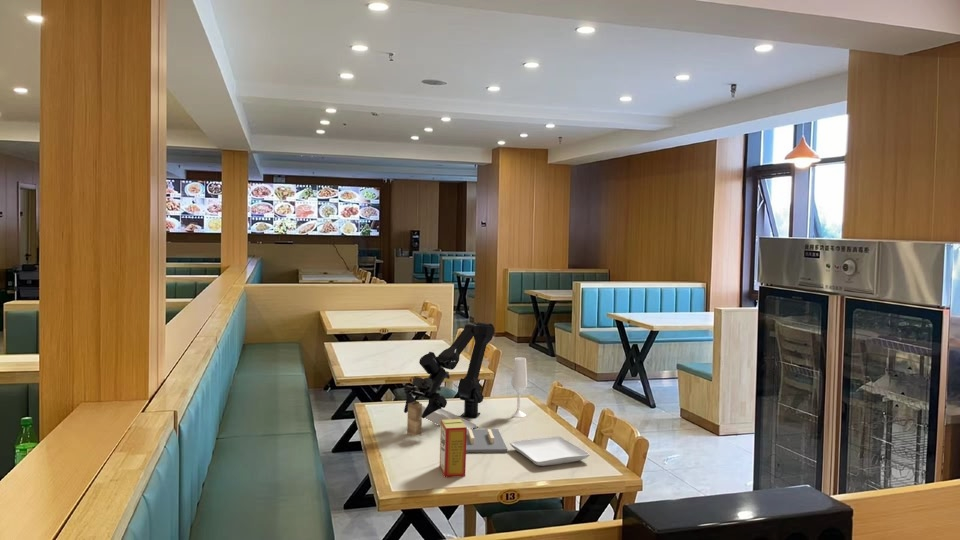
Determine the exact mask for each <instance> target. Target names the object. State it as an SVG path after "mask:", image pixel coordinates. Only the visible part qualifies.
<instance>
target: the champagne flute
mask: <svg viewBox="0 0 960 540" xmlns="http://www.w3.org/2000/svg"><path fill="white" fill-rule="evenodd" d="M512 368H513V370H512V377H511V387H512V389H514V391H515V392H517V398H516V400H517V403H516V404H517V405H516V410H515V411H513V412H511V413H510V414H509V415H510V416H511V417H514V418H524V417H526V416H527V413H526V414H525V413H524V412H523V411H521V393H523V392H524V391H525V389H526V388H527V387H528V373H527V372H528V371H527V358H526V357H521V356H520V357H515V358H514V361H513V367H512Z"/></svg>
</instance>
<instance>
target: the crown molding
mask: <svg viewBox="0 0 960 540" xmlns="http://www.w3.org/2000/svg"><path fill="white" fill-rule="evenodd" d="M426 407H427V405H426V406H425V405H423V404H422V414H423V412H424V410H425V409H426ZM425 418H426V419H428V420H430V421H432V422H434V423H436V424H438V425H440V426H441V419H461V420H462V421H463V423H464V424H465V426H466V427H468V428H470V429H472V428H474V429H476V428H477V427H478V425H477V424H475V423H473V422H471V421H469V420H467V419H466V418H463V417H462V416H459V415H457V414H454V413H452V412H450V411H448V410H446V409H444V408H442V407H441V409H438V410H436V411H434V412H433V413H431V414H429V415H428V416H426V417H425ZM426 419H425V420H426ZM428 420H427V421H428ZM430 421H429V422H430ZM432 422H431V423H432ZM434 423H433V424H434ZM436 424H435V425H436ZM438 425H437V426H438ZM440 426H439V427H440ZM477 429H478V428H477Z"/></svg>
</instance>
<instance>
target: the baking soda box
mask: <svg viewBox="0 0 960 540" xmlns="http://www.w3.org/2000/svg"><path fill="white" fill-rule="evenodd" d="M466 437H467V427H466V426H465V424H464V423H463V421H462V420H461V419H441V427H440V438H439V439H440V440H439V441H440V443H439V446H440V447H439V468H440V470H441V472H442V475H443V474H444V475H443V477H444V476H445V477H444V478H453V477H452V476H461V477H466V462H467V453H466Z"/></svg>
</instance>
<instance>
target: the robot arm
mask: <svg viewBox="0 0 960 540" xmlns="http://www.w3.org/2000/svg"><path fill="white" fill-rule="evenodd" d="M494 334H495V327H494V324H493V323H489V322H482V321H478V322H477V323H466V324H465V325H464V329H463V330H462V331H461V332H460V334H459V335H458V336H457V337H456V339H455V340H454V341H453V343H452V344H451V345H450V347H448V348H446V349H444V350H442V351H441V352H440V353H439V354H438V356H436V354H435V352H433V351H429V352H428V353H426V354H424V355H423V356H420V359H419V362H418V363H419V365H420V366H421V367H422V369H423V370H424V371H425V372H426V374H427V375H429V376H428V377H425V378H421V377H417V376H414V377H413V380H412V384H411V385H412V386H411V385H406V386H405V387H404V389H402V391H403V392H404V395H405V397H406V399H405V403H404V404H405V406H404V409H403V412H404V413H405V414H408V403H412V402H416V401H418V400H419V399H421V398H422V399H425V400H428V404H427V405H426V409H425V410H424V412H423V414H422V416H421V417H422V419H424V418H425V417H426V416H428V415H429V414H431V413H433V412H434V411H436V410H438V409H441V408H442V409H444V408H446V406H447V405H448V400H447V399H446V398H445V396H444V395H443V394H442V393H439V392H440V391H441V389H442V388H441V386H442V384H443V383H444V380H445V379H447V380H449V379H450V372H449V371H447V370H454V369H455V368H456V367H457V366H458V363H459V362H460V355H461V354H462V353H463V351H464V350H465V349H466V348H467V346H468V344H469V343H470V342H471V341H472V339H473V340H474V344H473V349H472V353H471V357H470V360H469V364H468V368H467V372H466V375H465V376H464V377H463V378H460V379H459V384H458V387H457V389H458V391H457V393H458V395H459V400H461V401H464V402H463V403H464V407H463V413H462V414H461V415H460V417H465V418H471V419H473V418H474V419H476V418H477V417H479V416H480V415H481V412H479V404H481V403H482V402H483V401H484V395H483V394H482V393H481V391H480V388H481V384H480V381H479V376H480V373H481V368H482V366H483V365H482V364H483V361H484V356H485V353H486V349H487V345H488V344H489V343H491V340H492V339H493V337H494ZM415 386H416V388H415Z"/></svg>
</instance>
